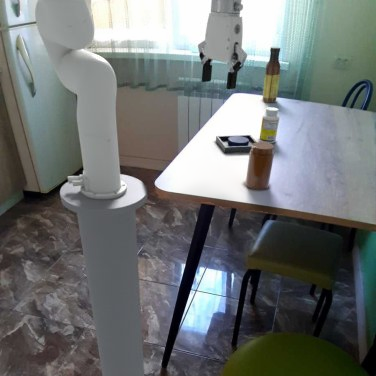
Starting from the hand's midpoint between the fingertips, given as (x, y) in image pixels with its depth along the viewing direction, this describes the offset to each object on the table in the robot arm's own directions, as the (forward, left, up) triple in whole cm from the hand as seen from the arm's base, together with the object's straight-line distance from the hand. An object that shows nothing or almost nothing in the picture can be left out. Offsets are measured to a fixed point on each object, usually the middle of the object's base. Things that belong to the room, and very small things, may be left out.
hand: (218, 85), depth 115 cm
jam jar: (+7, -22, -20) cm, 30 cm away
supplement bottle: (+23, +13, -20) cm, 33 cm away
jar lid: (+11, +9, -18) cm, 23 cm away
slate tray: (+11, +9, -20) cm, 25 cm away
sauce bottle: (+43, +65, -20) cm, 81 cm away
